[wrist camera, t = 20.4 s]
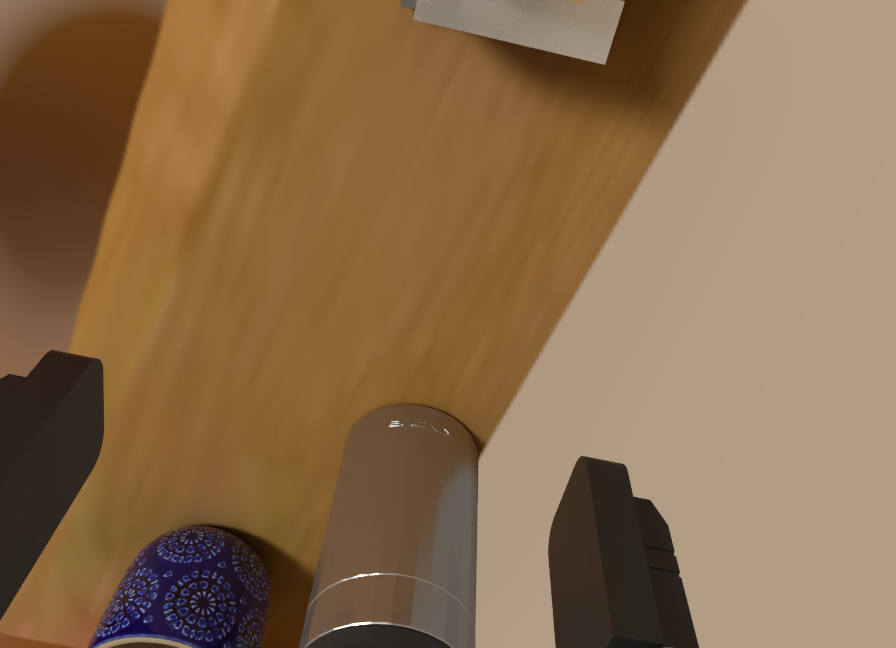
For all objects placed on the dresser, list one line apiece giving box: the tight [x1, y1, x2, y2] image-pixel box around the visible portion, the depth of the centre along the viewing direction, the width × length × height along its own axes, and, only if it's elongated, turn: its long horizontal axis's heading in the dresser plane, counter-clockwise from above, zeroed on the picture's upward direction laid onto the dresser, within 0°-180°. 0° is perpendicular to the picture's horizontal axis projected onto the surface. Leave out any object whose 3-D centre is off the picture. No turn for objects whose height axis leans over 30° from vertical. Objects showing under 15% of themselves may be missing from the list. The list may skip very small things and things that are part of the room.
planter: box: [87, 526, 270, 648], centre depth 57 cm, size 11×11×11 cm
